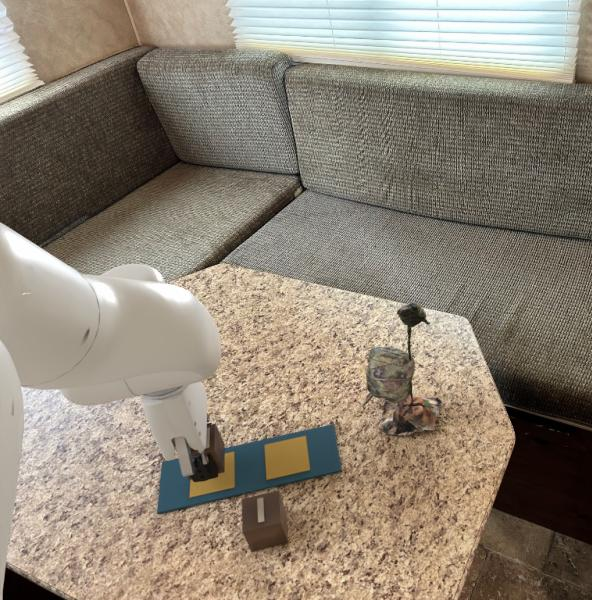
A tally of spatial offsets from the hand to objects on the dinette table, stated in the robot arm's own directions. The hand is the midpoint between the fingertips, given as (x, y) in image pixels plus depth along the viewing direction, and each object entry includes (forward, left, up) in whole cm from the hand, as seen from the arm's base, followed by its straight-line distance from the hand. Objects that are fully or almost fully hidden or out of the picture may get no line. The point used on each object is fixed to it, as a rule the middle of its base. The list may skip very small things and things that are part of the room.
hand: (206, 460), depth 80 cm
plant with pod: (+3, -27, -3) cm, 27 cm away
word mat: (0, -5, -3) cm, 6 cm away
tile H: (0, 0, 0) cm, 0 cm away
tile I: (-10, -7, -3) cm, 13 cm away
